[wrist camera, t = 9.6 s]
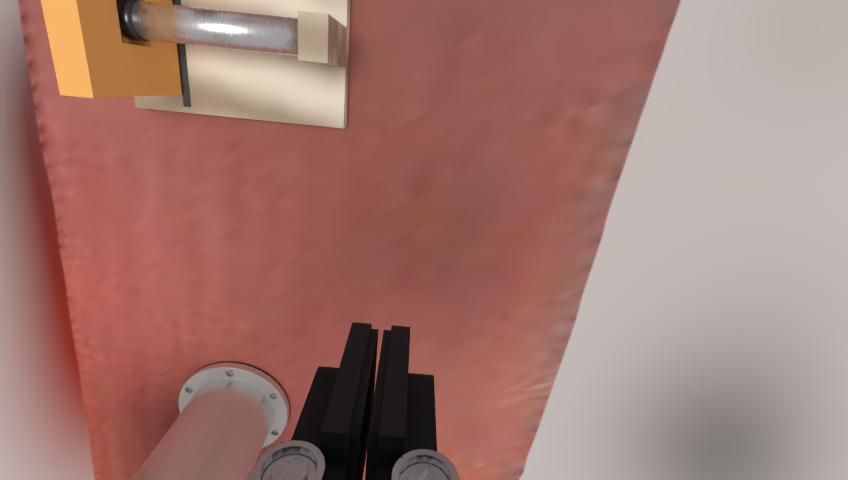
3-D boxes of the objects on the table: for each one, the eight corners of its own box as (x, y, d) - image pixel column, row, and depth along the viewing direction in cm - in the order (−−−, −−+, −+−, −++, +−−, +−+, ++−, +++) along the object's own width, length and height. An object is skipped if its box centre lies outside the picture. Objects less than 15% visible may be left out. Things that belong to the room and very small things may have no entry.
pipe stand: (346, 126, 38) (326, 137, 30) (146, 106, 37) (70, 112, 29) (351, -39, 33) (329, -79, 25) (123, -66, 32) (25, -115, 24)
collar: (182, 94, 35) (93, 98, 25) (157, 92, 35) (60, 94, 25) (167, -45, 31) (58, -100, 22) (140, -48, 31) (19, -105, 22)
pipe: (328, 61, 30) (321, 59, 28) (93, 36, 30) (64, 32, 27) (329, 22, 29) (321, 16, 27) (87, -5, 29) (56, -13, 26)
